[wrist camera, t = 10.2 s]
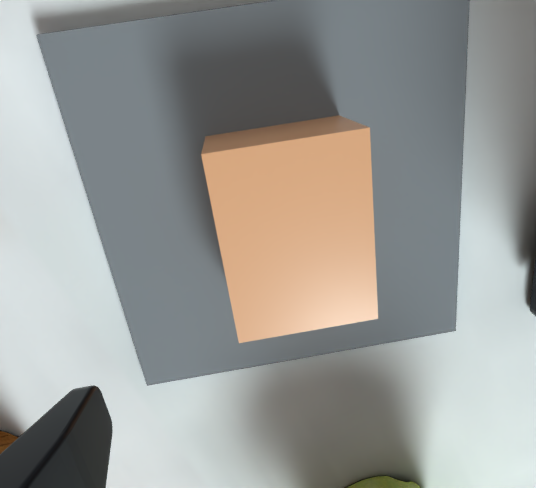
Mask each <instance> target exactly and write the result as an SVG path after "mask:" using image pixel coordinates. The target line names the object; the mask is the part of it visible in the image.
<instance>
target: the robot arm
mask: <svg viewBox="0 0 536 488" xmlns="http://www.w3.org/2000/svg"><path fill="white" fill-rule="evenodd" d="M530 311H531V312H532V314H534V315H535V316H536V260H535V268H534V277H533V287H532V295H531V303H530ZM111 440H112V421H111V417H110V415H109V412H108V409H107V407H106V404H105V401H104V399H103V396H102V393H101V391H100V389H99V388H98V387H97V386H87V387H82V388H76V389H73V390H72V391H70V392H69V393H68V394H67V395H66V396H65V397H64V398H62V399H61V400H60V401H59V402H58V403H57V404H56V405H55V406H53V407H52V408H51V409H50V410H49V411H48V412H47V413H46V414H44V415H43V416H42V417H41V418H40V419H39V420H38V421H37V422H36V423H34V424H33V425H32V426H31V427H30V428H29V429H28V430H27V431H25V432H24V433H23V434H22V435H21V436H20V437H19V438H18V439H16V440H15V441H14V442H13V443H12V444H11V445H10V446H9V447H8V448H6V449H5V450H4V451H3V452H2V453H1V454H0V488H106V480H107V472H108V464H109V456H110V448H111Z"/></svg>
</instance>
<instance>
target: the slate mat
mask: <svg viewBox="0 0 536 488" xmlns="http://www.w3.org/2000/svg"><path fill="white" fill-rule="evenodd" d="M468 21H469V0H273V1H266V2H260V3H253V4H246V5H239V6H232V7H225V8H218V9H211V10H204V11H197V12H190V13H183V14H176V15H169V16H163V17H156V18H149V19H142V20H135V21H128V22H121V23H114V24H107V25H100V26H93V27H86V28H79V29H72V30H65V31H59V32H52V33H45V34H38V35H37V39H38V42H39V45H40V48H41V51H42V54H43V58H44V61H45V64H46V67H47V70H48V73H49V77H50V80H51V83H52V86H53V89H54V92H55V96H56V99H57V102H58V105H59V108H60V111H61V115H62V118H63V121H64V124H65V127H66V130H67V134H68V137H69V140H70V143H71V146H72V149H73V153H74V156H75V159H76V162H77V165H78V168H79V172H80V175H81V178H82V181H83V184H84V187H85V191H86V194H87V197H88V200H89V203H90V206H91V210H92V213H93V216H94V219H95V222H96V225H97V229H98V232H99V235H100V238H101V241H102V244H103V248H104V251H105V254H106V257H107V260H108V263H109V267H110V270H111V273H112V276H113V279H114V282H115V286H116V289H117V292H118V295H119V298H120V301H121V305H122V308H123V311H124V314H125V317H126V320H127V324H128V327H129V330H130V333H131V336H132V339H133V343H134V346H135V349H136V352H137V355H138V358H139V362H140V365H141V368H142V371H143V374H144V377H145V381H146V384H147V386H148V385H153V384H159V383H165V382H170V381H176V380H181V379H187V378H193V377H198V376H204V375H210V374H215V373H221V372H227V371H232V370H238V369H243V368H249V367H255V366H260V365H266V364H272V363H277V362H283V361H288V360H294V359H300V358H305V357H311V356H317V355H322V354H328V353H334V352H339V351H345V350H350V349H356V348H362V347H367V346H373V345H379V344H384V343H390V342H395V341H401V340H407V339H412V338H418V337H424V336H429V335H435V334H441V333H446V332H452V331H456V308H457V284H458V260H459V236H460V213H461V189H462V165H463V141H464V117H465V93H466V69H467V45H468ZM338 115H340V116H342V117H345V118H347V119H350V120H352V121H355V122H357V123H360V124H362V125H365V126H367V127H370V142H371V165H372V188H373V211H374V234H375V257H376V280H377V302H378V319H374V320H368V321H363V322H357V323H351V324H346V325H340V326H334V327H328V328H323V329H317V330H311V331H306V332H300V333H294V334H289V335H283V336H277V337H272V338H266V339H260V340H255V341H249V342H243V343H239V341H238V336H237V331H236V326H235V321H234V316H233V311H232V306H231V301H230V296H229V291H228V286H227V281H226V276H225V271H224V266H223V261H222V256H221V251H220V246H219V241H218V236H217V231H216V226H215V221H214V216H213V211H212V206H211V201H210V196H209V191H208V186H207V181H206V176H205V171H204V166H203V161H202V156H201V153H202V149H203V144H204V140H205V136H211V135H217V134H224V133H230V132H236V131H243V130H249V129H256V128H262V127H268V126H275V125H281V124H287V123H294V122H300V121H307V120H313V119H319V118H326V117H332V116H338Z"/></svg>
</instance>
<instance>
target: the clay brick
mask: <svg viewBox="0 0 536 488" xmlns="http://www.w3.org/2000/svg"><path fill="white" fill-rule="evenodd" d="M201 156H202V161H203V166H204V171H205V176H206V181H207V186H208V191H209V196H210V201H211V206H212V211H213V216H214V221H215V226H216V231H217V236H218V241H219V246H220V251H221V256H222V261H223V266H224V271H225V276H226V281H227V286H228V291H229V296H230V301H231V306H232V311H233V316H234V321H235V326H236V331H237V336H238V341H239V343H243V342H249V341H255V340H260V339H266V338H272V337H277V336H283V335H289V334H294V333H300V332H306V331H311V330H317V329H323V328H328V327H334V326H340V325H346V324H351V323H357V322H363V321H368V320H374V319H378V302H377V280H376V257H375V234H374V211H373V188H372V165H371V142H370V127H367V126H365V125H362V124H360V123H357V122H355V121H352V120H350V119H347V118H345V117H342V116H340V115H338V116H332V117H326V118H319V119H313V120H307V121H300V122H294V123H287V124H281V125H275V126H268V127H262V128H256V129H249V130H243V131H236V132H230V133H224V134H217V135H211V136H205V140H204V144H203V149H202V153H201Z"/></svg>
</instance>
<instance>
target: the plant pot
mask: <svg viewBox="0 0 536 488" xmlns="http://www.w3.org/2000/svg"><path fill="white" fill-rule="evenodd" d="M347 488H421V487H420V486H419V485H417V484H416V483H414V482H412V481H410V482H403V481H400V480H396V479H394V478H391V477H389V476H378V477H372V478H369V479H365V480H362V481H360V482H357V483H355V484H353V485H351V486H349V487H347Z"/></svg>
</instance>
